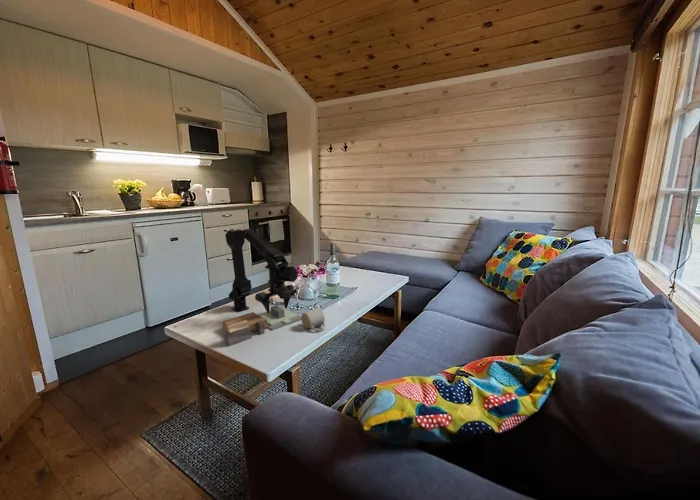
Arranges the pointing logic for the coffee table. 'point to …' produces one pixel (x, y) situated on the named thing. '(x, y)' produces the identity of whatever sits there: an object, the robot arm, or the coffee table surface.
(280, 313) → the toolbox lid
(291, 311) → the rubber mat
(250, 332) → the toolbox
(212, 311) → the coffee table surface
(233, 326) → the wooden block
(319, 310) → the ceramic mug
